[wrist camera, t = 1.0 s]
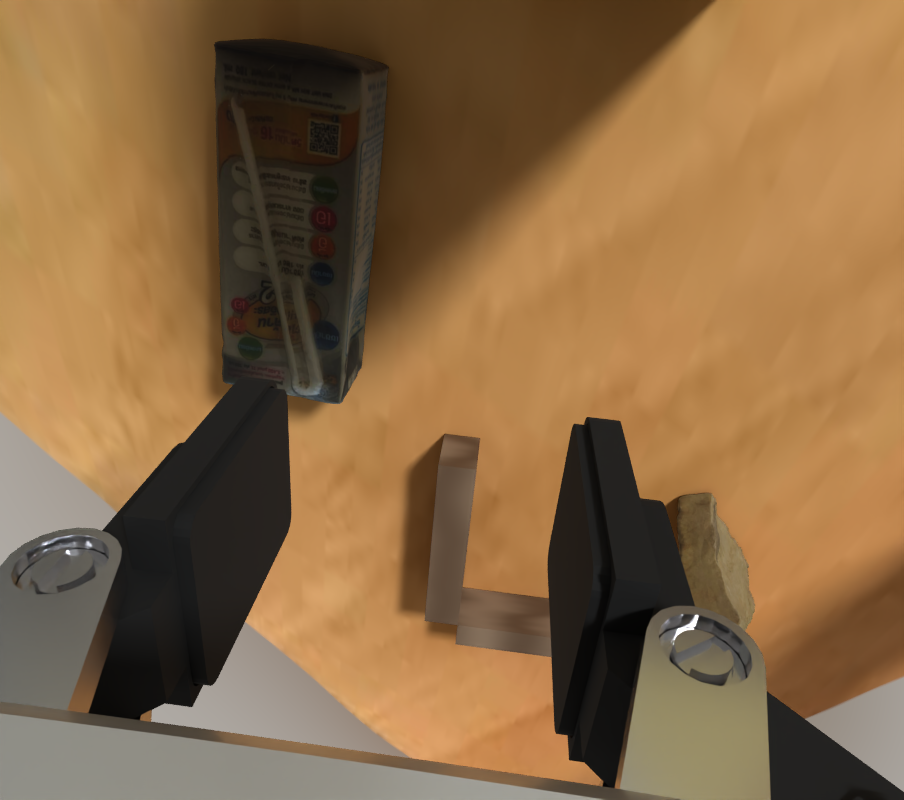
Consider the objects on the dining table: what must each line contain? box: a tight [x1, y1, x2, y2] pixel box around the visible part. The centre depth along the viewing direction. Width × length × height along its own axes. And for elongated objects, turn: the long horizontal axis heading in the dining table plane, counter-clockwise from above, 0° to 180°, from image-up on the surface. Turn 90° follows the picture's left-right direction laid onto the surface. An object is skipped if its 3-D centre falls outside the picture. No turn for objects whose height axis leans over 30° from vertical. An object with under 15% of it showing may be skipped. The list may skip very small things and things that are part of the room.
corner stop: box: [425, 434, 552, 657], centre depth 50 cm, size 12×16×4 cm
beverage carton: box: [214, 39, 389, 404], centre depth 39 cm, size 8×19×7 cm, turn 172°
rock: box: [677, 493, 755, 631], centre depth 48 cm, size 11×9×10 cm
